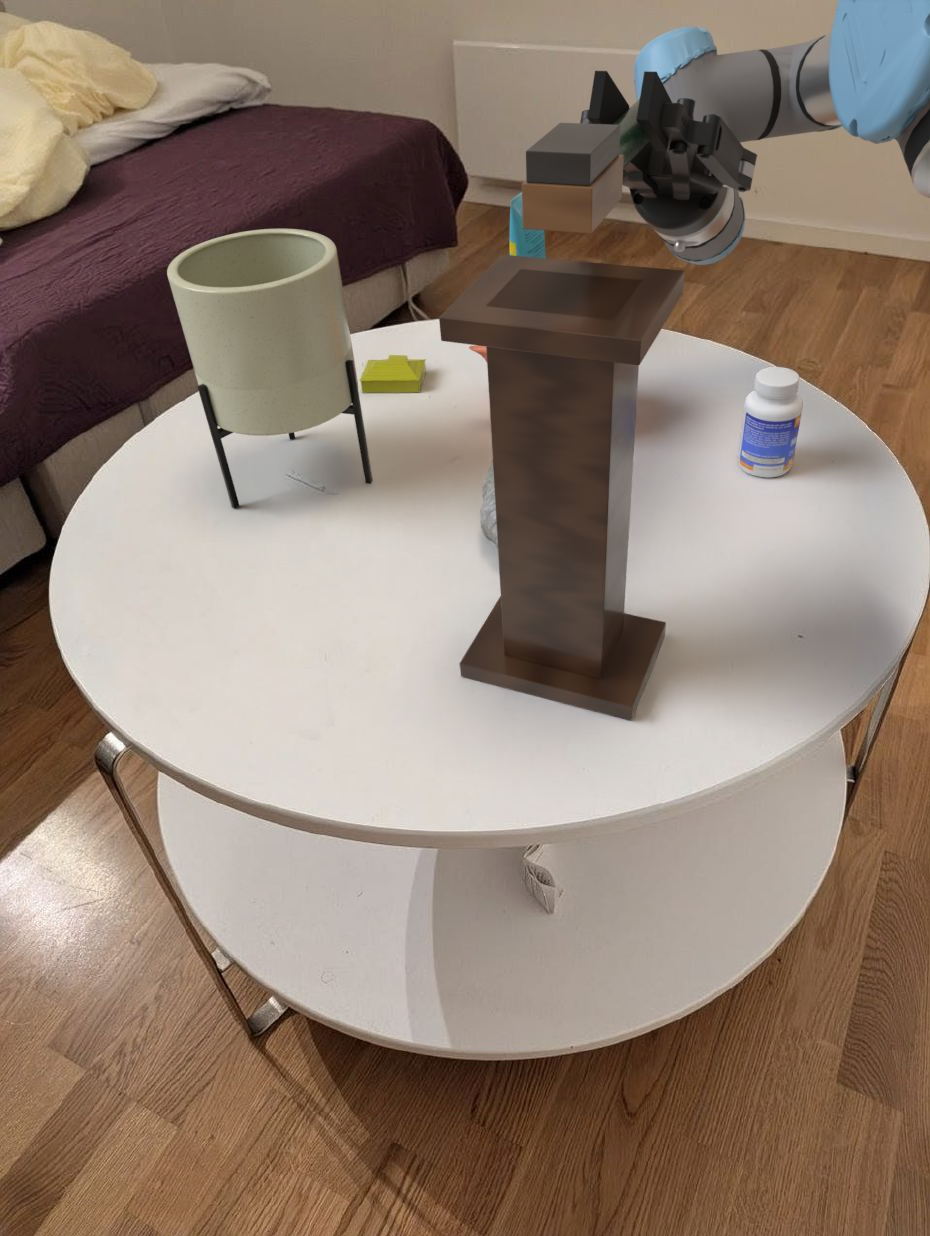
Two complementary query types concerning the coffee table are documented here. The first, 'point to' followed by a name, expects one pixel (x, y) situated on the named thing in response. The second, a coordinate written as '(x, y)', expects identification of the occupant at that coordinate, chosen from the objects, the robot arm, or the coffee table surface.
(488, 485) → the seashell
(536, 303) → the stand
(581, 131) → the brush
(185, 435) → the coffee table surface
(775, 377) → the pill bottle
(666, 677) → the coffee table surface
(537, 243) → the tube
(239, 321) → the planter
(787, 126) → the robot arm
